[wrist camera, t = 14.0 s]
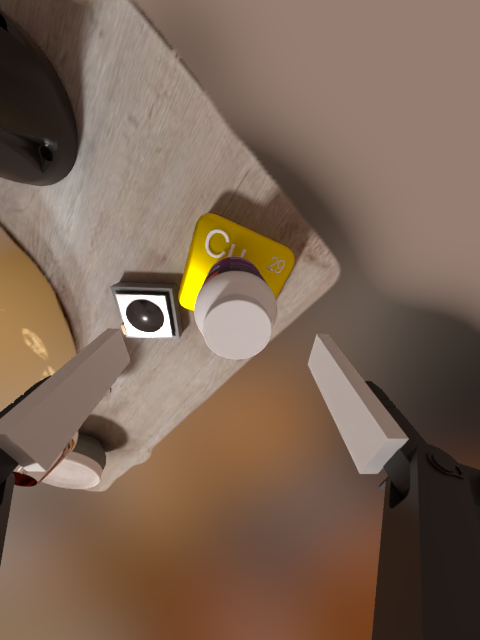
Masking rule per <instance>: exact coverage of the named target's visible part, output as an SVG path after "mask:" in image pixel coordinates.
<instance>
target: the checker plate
mask: <svg viewBox="0 0 480 640" xmlns="http://www.w3.org/2000/svg"><path fill="white" fill-rule="evenodd" d="M115 295H116V298H117V301H118V304H119V307H120V311H121V314H122V317H123V320H124V323H125V327H126V330H127V333H128V335H132V336H166V337H172V336H173V334H174V332H175V328H174V322H173V315H172V309H171V303H170V297H169V292H156V291H127V290H122V291H120V292H118V293H117V294H115Z"/></svg>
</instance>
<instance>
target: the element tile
mask: <svg viewBox="0 0 480 640" xmlns="http://www.w3.org/2000/svg"><path fill="white" fill-rule="evenodd" d="M230 256H238V257H242V258H245V259H247V260H249V261H250V262H252V263H253V264H254V265H255V266H256V268H257V269H258V270H259V272H260V274H261V275H262V277H263V278H264V280H265V281H266V283H267V284H268V286H269V287H270V288H271V290H272V292H273V294H274V296H275V299H276V298H277V296H278V294H279V292H280V290H281V288H282V287H283V285H284V283H285V281H286V279H287V277H288V275H289V274H290V272H291V270H292V268H293V266H294V261H295V256H294V253H293V252H292V251H291V249H289V248H288V247H286V246H284V245H282V244H280V243H278V242H276V241H274V240H271V239H269V238H267V237H265V236H263V235H261V234H258V233H256V232H254V231H252V230H250V229H248V228H245V227H243V226H241V225H239V224H237V223H234V222H232V221H230V220H228V219H226V218H224V217H221V216H219V215H216V214H213V213H206V214H204V215H202V216H201V217H200V218H199V219H198V221H197V223H196V226H195V230H194V234H193V238H192V242H191V246H190V250H189V254H188V258H187V262H186V266H185V269H184V273H183V277H182V281H181V285H180V289H179V293H178V300H179V303H180V305H181V306H182V307H184V308H185V309H187V310H189V311H192V312H194V305H195V301H196V298H197V295H198V293H199V291H200V289H201V287H202V285H203V283H204V281H205V279H206V277H207V275H208V272H209V271H210V269H211V267H212V266H213V265H214V264H215V263H216V262H217V261H219V260H221V259H223V258H225V257H230Z"/></svg>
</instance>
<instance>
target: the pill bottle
mask: <svg viewBox="0 0 480 640" xmlns="http://www.w3.org/2000/svg"><path fill="white" fill-rule="evenodd" d="M194 316H195V321H196V324H197V326H198V328H199V330H200V331H201V333H202V334H203V336H204V339H205V341H206V343H207V345H208V346H209V348H210V349H211V350H212V351H213V352H215V353H216V354H218V355H220V356H222V357H224V358H228V359H245V358H249V357H252V356H254V355H256V354H257V353H259V352H260V351H261V350H262V349H263V348H264V347H265V346H266V345H267V343H268V342H269V339H270V337H271V332H272V328H273V326H274V324H275V321H276V317H277V303H276V299H275V296H274V294H273V292H272V290H271V288H270V287H269V286H268V284H267V283H266V281H265V280H264V278H263V277H262V275H261V274H260V272H259V270H258V269H257V268H256V266H255V265H254V264H253V263H252V262H250V261H249V260H247V259H245V258H242V257H238V256H230V257H225V258H223V259H221V260H219V261H217V262H216V263H215V264H214V265H213V266H212V267H211V269H210V271H209V272H208V275H207V277H206V279H205V281H204V283H203V285H202V287H201V289H200V291H199V293H198V295H197V298H196V301H195V305H194Z"/></svg>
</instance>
